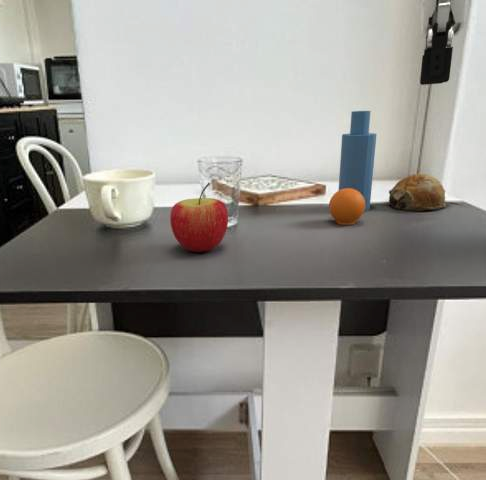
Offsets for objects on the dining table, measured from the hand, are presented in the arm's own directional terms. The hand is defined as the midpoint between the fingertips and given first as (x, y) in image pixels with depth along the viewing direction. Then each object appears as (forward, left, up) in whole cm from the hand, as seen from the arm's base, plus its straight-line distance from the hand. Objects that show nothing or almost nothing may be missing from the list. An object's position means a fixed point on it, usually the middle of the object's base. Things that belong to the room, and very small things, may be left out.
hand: (433, 83), depth 61 cm
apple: (+32, -10, -22) cm, 40 cm away
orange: (+4, -11, -22) cm, 25 cm away
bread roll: (-15, -13, -22) cm, 30 cm away
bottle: (-4, -18, -22) cm, 29 cm away
